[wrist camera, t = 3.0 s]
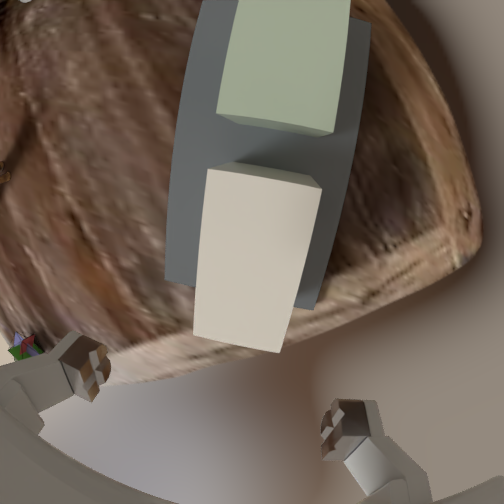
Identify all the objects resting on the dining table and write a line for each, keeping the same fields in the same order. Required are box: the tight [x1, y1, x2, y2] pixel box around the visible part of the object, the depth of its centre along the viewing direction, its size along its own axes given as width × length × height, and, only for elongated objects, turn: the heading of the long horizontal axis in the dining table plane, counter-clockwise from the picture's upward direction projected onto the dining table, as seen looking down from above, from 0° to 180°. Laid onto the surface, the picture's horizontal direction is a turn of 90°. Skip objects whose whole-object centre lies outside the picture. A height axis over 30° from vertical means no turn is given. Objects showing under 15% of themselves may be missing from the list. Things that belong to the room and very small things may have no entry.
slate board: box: [165, 0, 371, 310], centre depth 20 cm, size 26×14×1 cm, turn 171°
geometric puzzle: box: [8, 331, 44, 362], centre depth 32 cm, size 7×7×8 cm
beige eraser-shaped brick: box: [193, 162, 322, 353], centre depth 19 cm, size 11×6×7 cm, turn 171°
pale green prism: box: [216, 0, 351, 138], centre depth 14 cm, size 11×6×7 cm, turn 171°
